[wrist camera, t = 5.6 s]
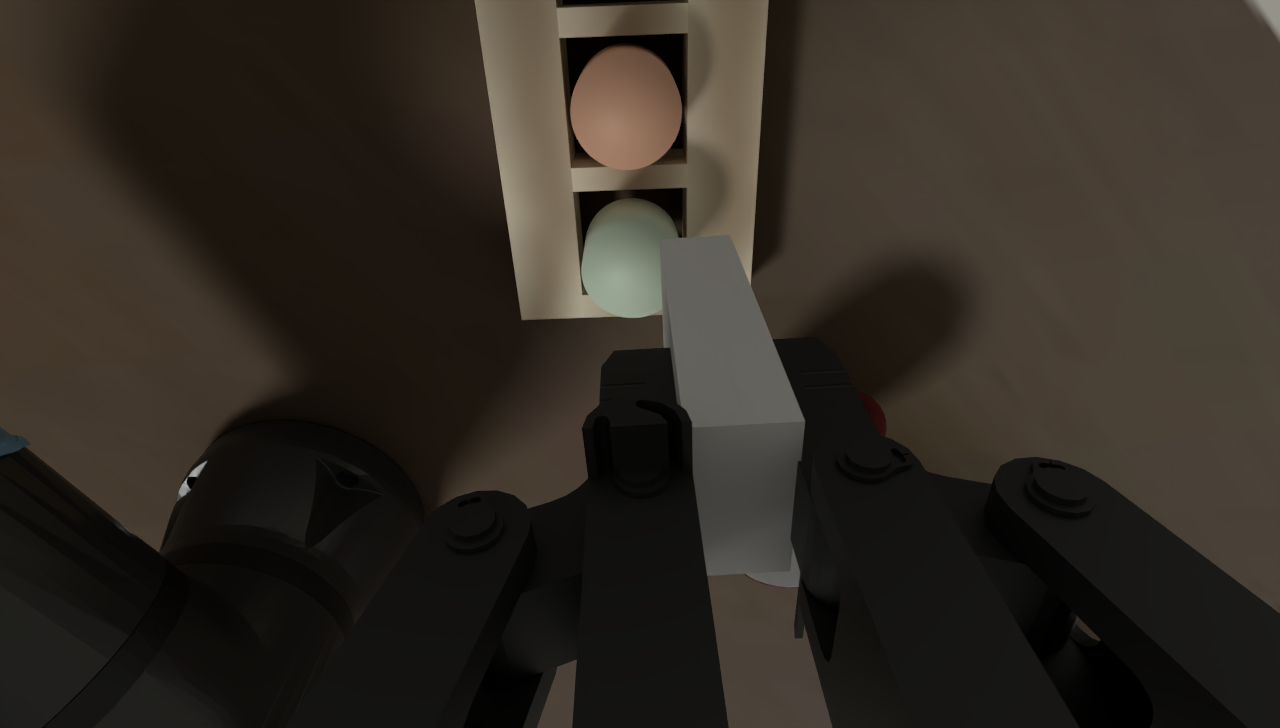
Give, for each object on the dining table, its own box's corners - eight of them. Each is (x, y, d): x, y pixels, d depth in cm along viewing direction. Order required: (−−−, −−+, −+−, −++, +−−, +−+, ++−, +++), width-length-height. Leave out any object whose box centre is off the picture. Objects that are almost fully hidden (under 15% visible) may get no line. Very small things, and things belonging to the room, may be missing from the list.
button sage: (589, 287, 33) (585, 319, 30) (582, 200, 30) (577, 225, 27) (678, 284, 33) (683, 316, 30) (678, 196, 30) (684, 220, 27)
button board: (529, 295, 36) (521, 319, 34) (463, -187, 25) (444, -205, 23) (740, 287, 36) (748, 311, 34) (766, -199, 25) (782, -218, 23)
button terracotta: (580, 152, 30) (575, 172, 27) (571, 45, 28) (565, 54, 25) (676, 148, 30) (682, 168, 27) (676, 41, 28) (682, 49, 25)
